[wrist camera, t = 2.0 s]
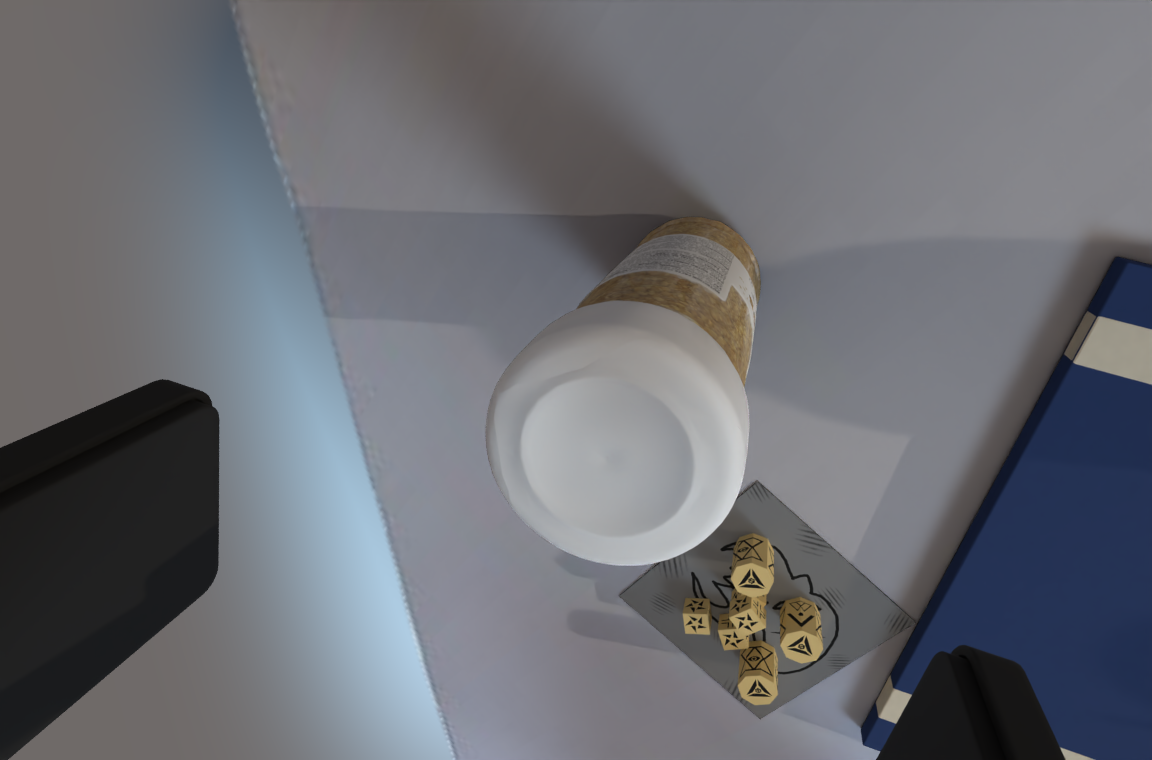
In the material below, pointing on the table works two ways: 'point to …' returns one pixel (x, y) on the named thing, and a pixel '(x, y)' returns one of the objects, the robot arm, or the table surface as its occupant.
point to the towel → (1064, 545)
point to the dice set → (765, 605)
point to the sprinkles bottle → (635, 402)
